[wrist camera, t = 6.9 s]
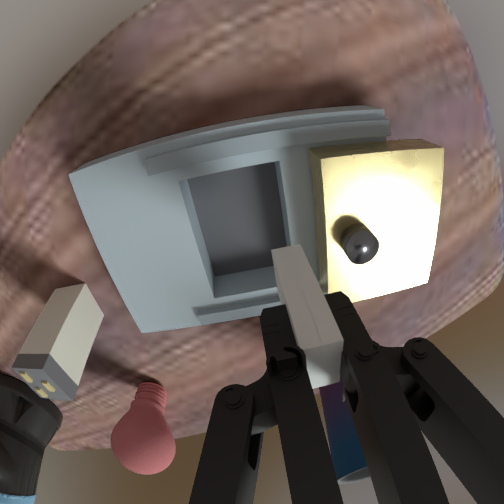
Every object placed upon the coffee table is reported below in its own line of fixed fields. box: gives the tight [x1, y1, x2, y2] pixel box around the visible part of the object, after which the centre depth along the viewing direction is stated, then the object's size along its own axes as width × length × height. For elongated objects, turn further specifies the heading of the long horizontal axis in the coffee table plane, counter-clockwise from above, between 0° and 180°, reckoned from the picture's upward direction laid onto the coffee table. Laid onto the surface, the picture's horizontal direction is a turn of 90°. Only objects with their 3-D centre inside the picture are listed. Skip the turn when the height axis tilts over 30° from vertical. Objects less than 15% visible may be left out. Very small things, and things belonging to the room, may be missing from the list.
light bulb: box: [111, 382, 175, 474], centre depth 27 cm, size 7×7×12 cm
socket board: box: [68, 105, 391, 333], centre depth 20 cm, size 20×14×4 cm
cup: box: [319, 375, 371, 484], centre depth 24 cm, size 7×7×15 cm
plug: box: [12, 283, 104, 401], centre depth 20 cm, size 4×4×10 cm
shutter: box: [308, 139, 444, 303], centre depth 17 cm, size 8×10×4 cm
